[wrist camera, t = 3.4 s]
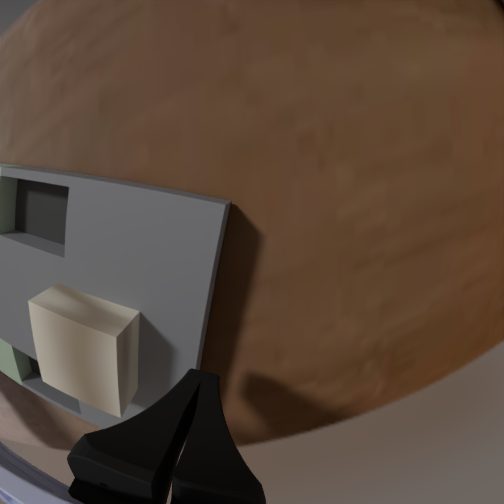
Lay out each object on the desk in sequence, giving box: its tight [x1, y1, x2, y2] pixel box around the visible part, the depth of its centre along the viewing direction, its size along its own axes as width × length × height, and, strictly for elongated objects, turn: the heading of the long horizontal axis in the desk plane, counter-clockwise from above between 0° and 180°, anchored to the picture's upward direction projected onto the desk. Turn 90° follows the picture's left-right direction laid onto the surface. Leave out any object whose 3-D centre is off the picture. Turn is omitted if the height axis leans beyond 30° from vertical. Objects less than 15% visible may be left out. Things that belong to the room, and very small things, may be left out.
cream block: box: [28, 283, 140, 418], centre depth 12 cm, size 5×5×2 cm
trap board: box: [0, 163, 232, 455], centre depth 13 cm, size 20×16×4 cm
